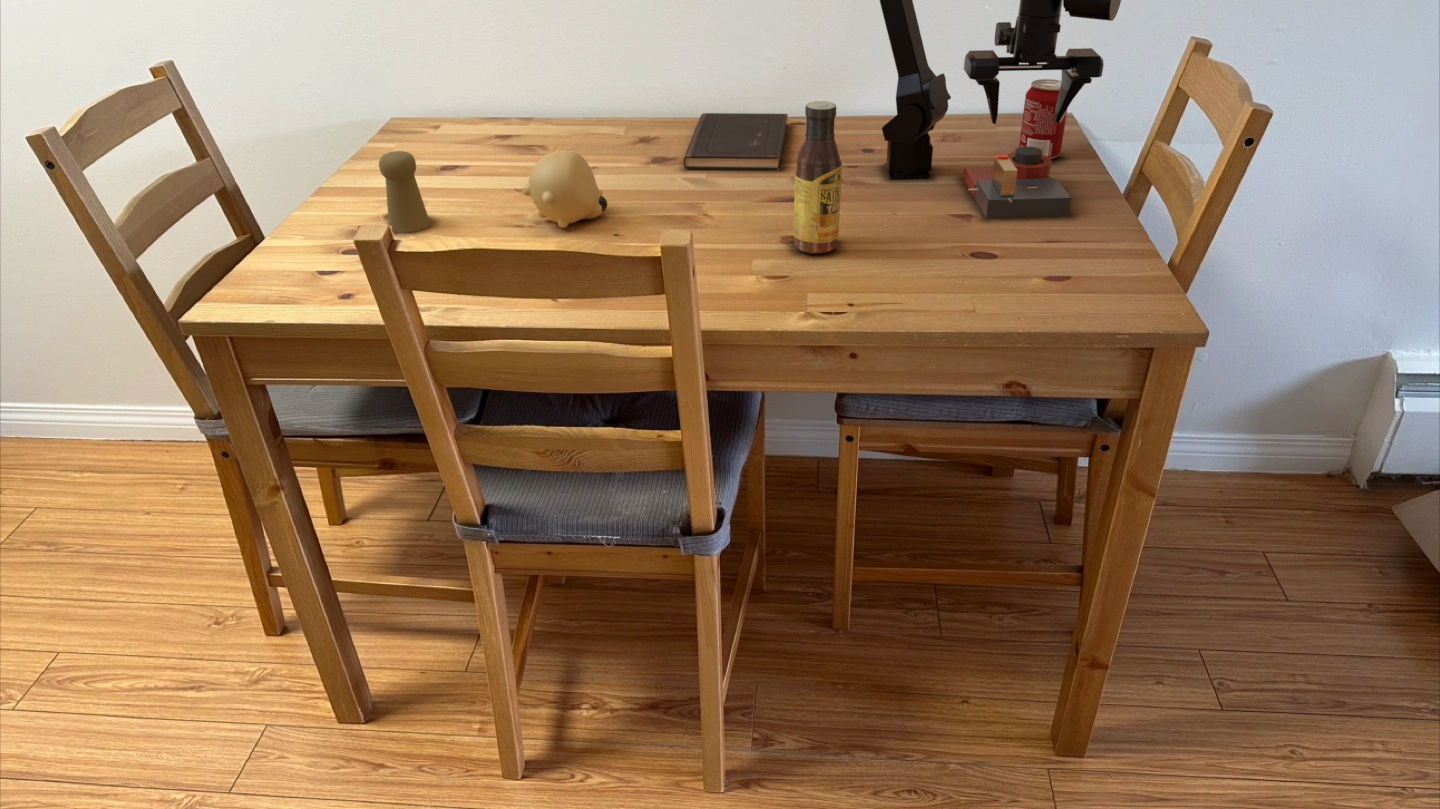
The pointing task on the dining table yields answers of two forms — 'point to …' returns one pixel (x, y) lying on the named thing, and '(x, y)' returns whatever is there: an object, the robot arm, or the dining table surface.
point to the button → (1028, 155)
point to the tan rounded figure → (564, 188)
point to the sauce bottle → (818, 182)
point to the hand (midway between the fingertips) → (1024, 122)
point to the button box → (1022, 170)
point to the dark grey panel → (1023, 199)
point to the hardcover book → (737, 142)
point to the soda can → (1042, 118)
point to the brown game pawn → (403, 193)
